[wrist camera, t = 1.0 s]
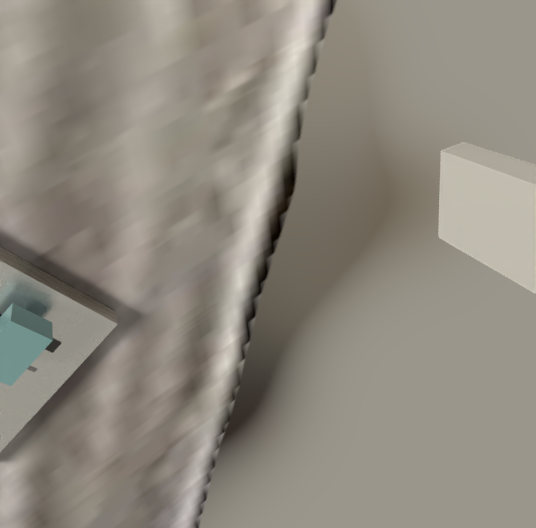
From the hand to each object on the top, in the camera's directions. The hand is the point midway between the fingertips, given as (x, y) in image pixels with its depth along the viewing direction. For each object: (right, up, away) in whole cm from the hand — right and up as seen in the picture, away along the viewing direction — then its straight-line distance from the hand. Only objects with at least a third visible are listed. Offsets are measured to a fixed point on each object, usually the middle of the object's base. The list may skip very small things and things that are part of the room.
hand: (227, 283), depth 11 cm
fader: (-17, -4, +21) cm, 28 cm away
